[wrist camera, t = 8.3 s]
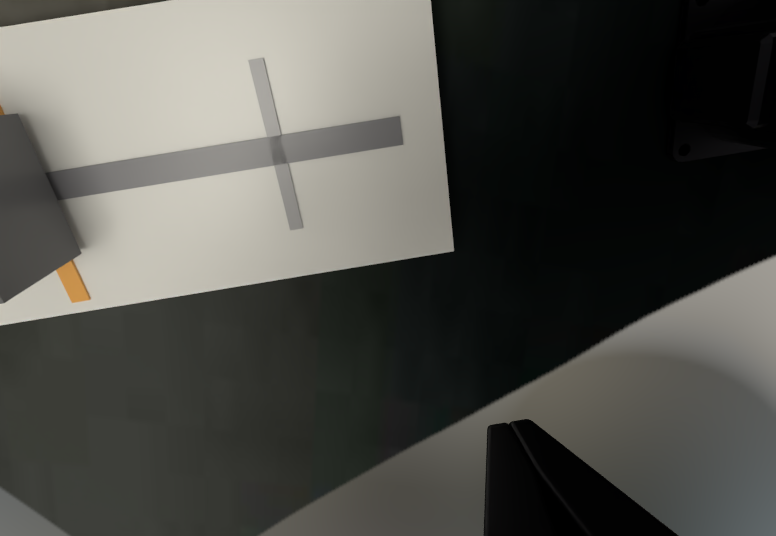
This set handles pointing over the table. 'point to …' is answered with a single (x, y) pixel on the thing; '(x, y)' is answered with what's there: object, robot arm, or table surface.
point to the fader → (28, 215)
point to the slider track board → (229, 143)
